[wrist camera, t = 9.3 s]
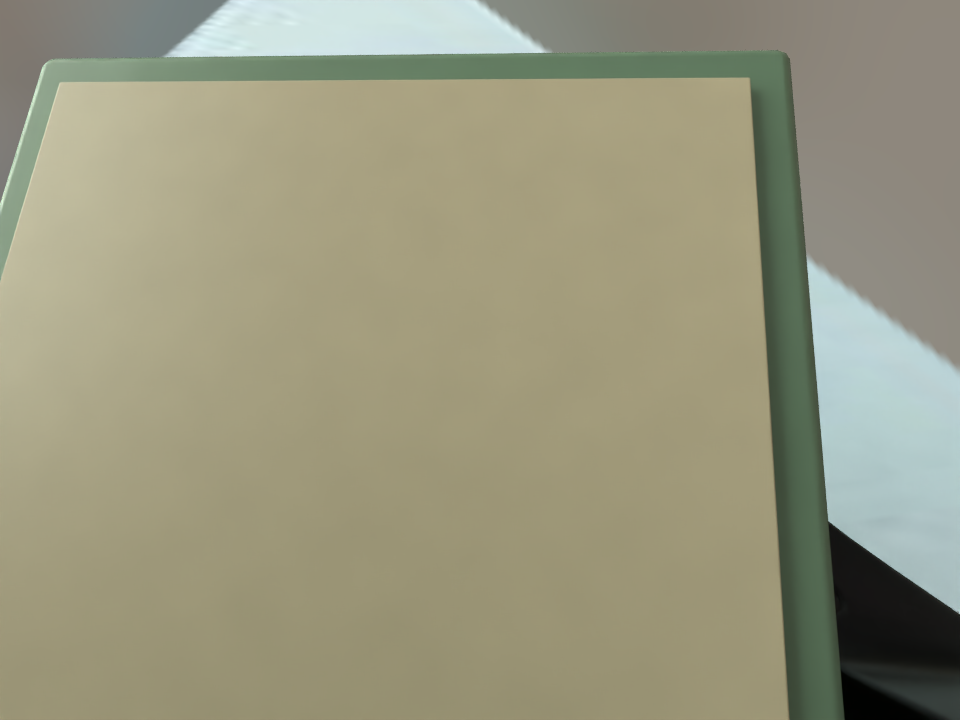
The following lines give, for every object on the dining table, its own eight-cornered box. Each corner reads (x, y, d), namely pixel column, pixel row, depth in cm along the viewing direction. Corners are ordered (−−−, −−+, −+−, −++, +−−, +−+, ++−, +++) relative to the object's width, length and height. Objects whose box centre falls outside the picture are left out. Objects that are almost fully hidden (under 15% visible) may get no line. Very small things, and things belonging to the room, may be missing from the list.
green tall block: (578, 573, 15) (939, 1161, 2) (400, 558, 15) (-261, 944, 2) (583, 397, 16) (825, 33, 3) (416, 388, 16) (31, 45, 4)
